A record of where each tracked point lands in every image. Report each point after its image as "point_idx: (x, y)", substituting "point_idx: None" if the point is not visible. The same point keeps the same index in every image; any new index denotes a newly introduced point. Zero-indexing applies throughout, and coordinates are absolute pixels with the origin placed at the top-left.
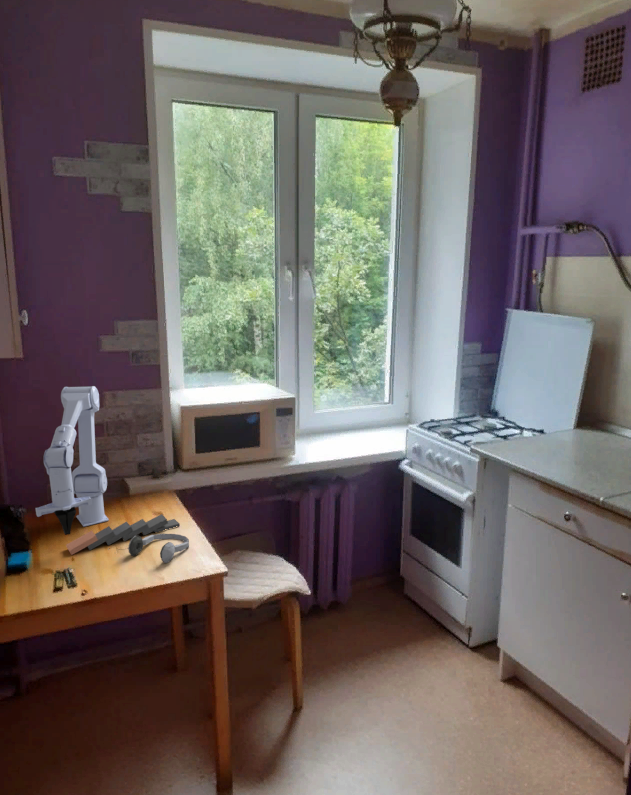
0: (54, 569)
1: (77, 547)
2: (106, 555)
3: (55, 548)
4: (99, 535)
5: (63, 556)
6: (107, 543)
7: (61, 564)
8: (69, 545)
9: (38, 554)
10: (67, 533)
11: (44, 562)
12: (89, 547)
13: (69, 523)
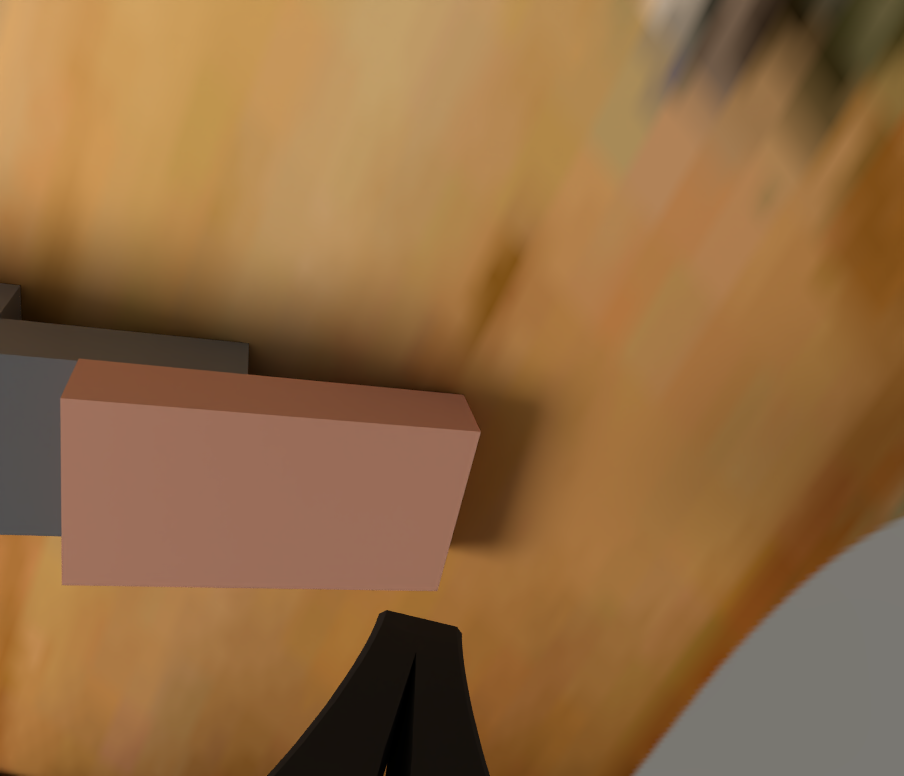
0: (815, 200)
1: (369, 413)
2: (119, 26)
3: (509, 651)
4: (21, 446)
5: (544, 437)
6: (8, 297)
7: (674, 263)
8: (417, 538)
9: (697, 664)
10: (427, 631)
11: (770, 467)
12: (232, 359)
13: (344, 767)
